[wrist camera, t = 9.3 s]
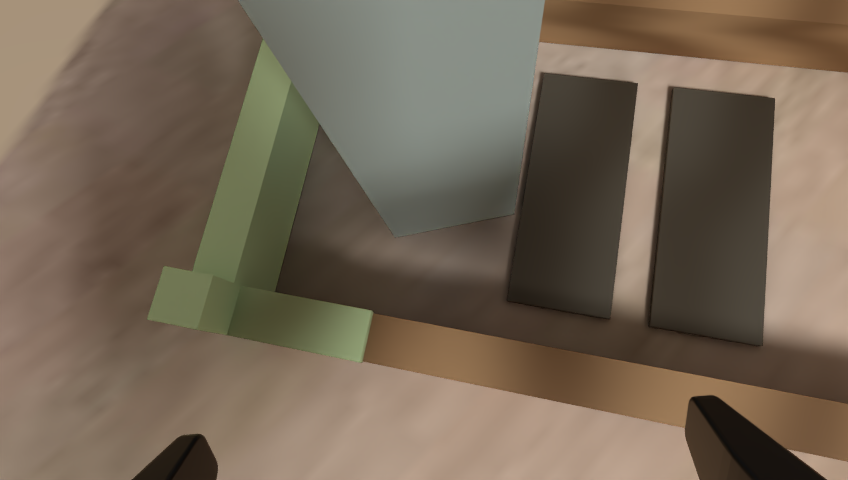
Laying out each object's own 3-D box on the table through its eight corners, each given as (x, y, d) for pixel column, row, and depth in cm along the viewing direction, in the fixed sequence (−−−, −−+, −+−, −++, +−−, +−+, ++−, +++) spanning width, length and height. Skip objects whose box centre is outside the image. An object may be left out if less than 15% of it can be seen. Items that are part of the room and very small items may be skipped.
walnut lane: (944, 44, 19) (1017, -11, 17) (957, 485, 16) (1053, 506, 13) (338, -10, 23) (318, -62, 20) (243, 337, 20) (204, 330, 17)
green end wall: (355, -9, 23) (323, -101, 19) (263, 341, 20) (197, 329, 15) (320, -12, 23) (281, -104, 19) (223, 333, 20) (146, 319, 15)
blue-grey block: (489, 106, 21) (489, -300, 8) (514, 213, 20) (555, -75, 7) (377, 130, 21) (217, -228, 9) (394, 237, 20) (237, -1, 8)
